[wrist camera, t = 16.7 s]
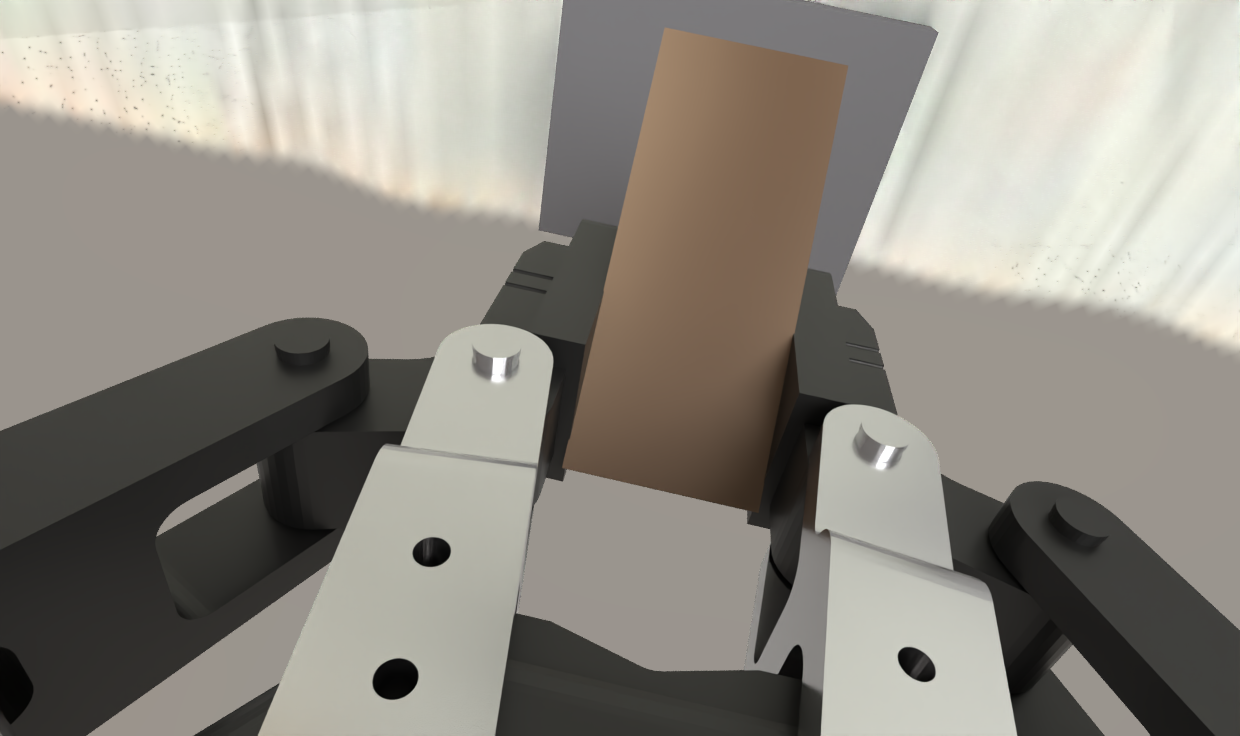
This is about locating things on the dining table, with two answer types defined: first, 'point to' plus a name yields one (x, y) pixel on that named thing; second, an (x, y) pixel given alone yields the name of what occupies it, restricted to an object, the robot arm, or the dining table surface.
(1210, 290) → the dining table surface
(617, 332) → the tan rectangular plank
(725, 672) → the robot arm
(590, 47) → the mat
